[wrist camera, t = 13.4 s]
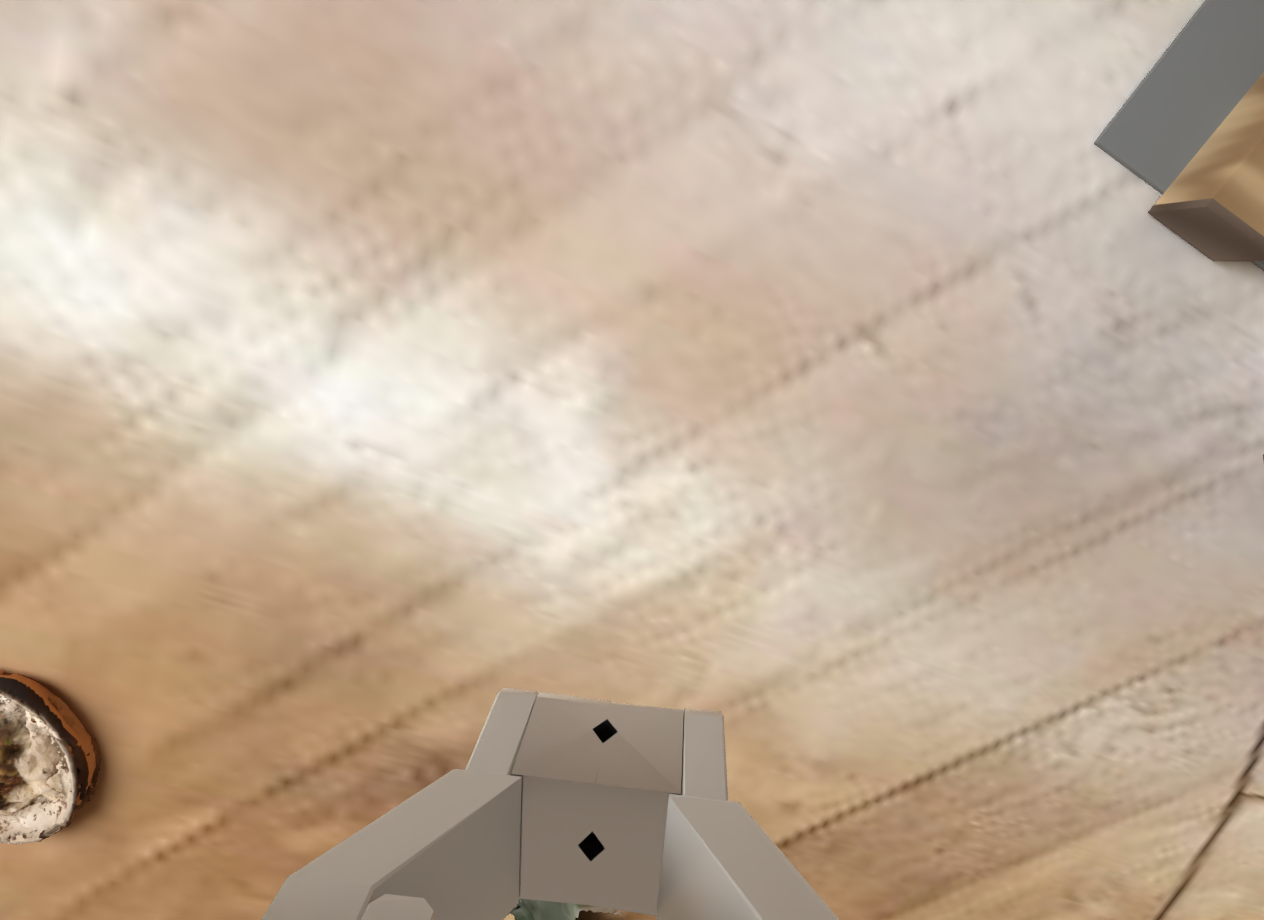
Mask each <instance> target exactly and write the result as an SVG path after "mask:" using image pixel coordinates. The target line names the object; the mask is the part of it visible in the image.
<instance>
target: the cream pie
mask: <svg viewBox="0 0 1264 920" xmlns="http://www.w3.org/2000/svg"><path fill="white" fill-rule="evenodd" d="M100 762H101V759H100V751H99V748H98V746H97V743H96V740H95V739H93V738H92V737H91V736H90V735H89V734H88V733H87V732H86V729H85V727H84V726H83V725H82V724H81V722H80V721H79V720H78V718H77V717H76V716H75V715H74V713H73V712H72V711H71V710H70V708H69V707H68V706H67V705H66V704H65V703H64V702H63V701H62V700H61V699H60V698H59V697H57V696H56V695H54V694H53V693H51V692H50V691H49V690H48V689H47V688H46V687H44V686H43V685H41V684H39V683H38V682H36V681H34V680H32V679H30V678H26V677H25V676H22V675H19V674H16V673H13V674H12V675H11V674H8V675H7V674H5V673H4V671H3V670H0V844H2V843H9V844H20V843H22V844H23V843H30V842H41V841H42V840H43V839H45V838H48V837H49V836H51V835H53V834H55V833H56V832H58V831H61V829H62V826H63V827H67V826H68V825H69V824H70V823H71V821H72V819H73V817H74V813H75V810H76V809H79V808H81V807H83V805H84V804H85V803H86V802H88V801H90V800H89V799H90V796H91V795H93V794H94V792H95V788H94V787H97V786H96V785H94V786H93V784H94V783H95V782H96V781H97V777H98V772H99V771H100V767H99V766H100ZM88 792H89V793H88ZM8 839H10V840H8ZM15 839H17V840H15Z"/></svg>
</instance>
